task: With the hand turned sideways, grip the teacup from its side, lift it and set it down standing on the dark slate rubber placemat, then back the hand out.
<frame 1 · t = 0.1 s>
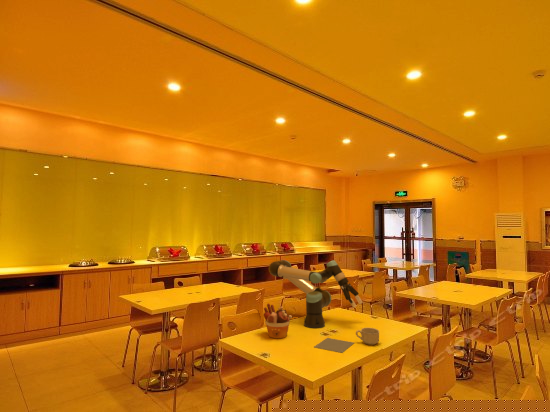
hand: (358, 305, 243), 15 cm above the table, tool tilted 35°, fingers open, 13 cm apart
placemat: (334, 345, 204), on the table
teacup: (367, 343, 207), on the table
bucket of meat: (277, 336, 222), on the table
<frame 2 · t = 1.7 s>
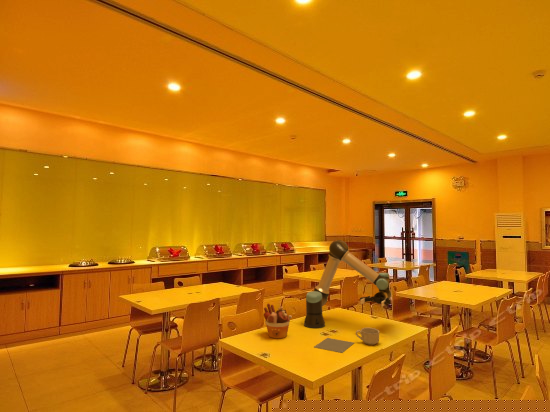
hand: (371, 303, 216), 22 cm above the table, tool horizontal, fingers open, 13 cm apart
nothing on the table moved.
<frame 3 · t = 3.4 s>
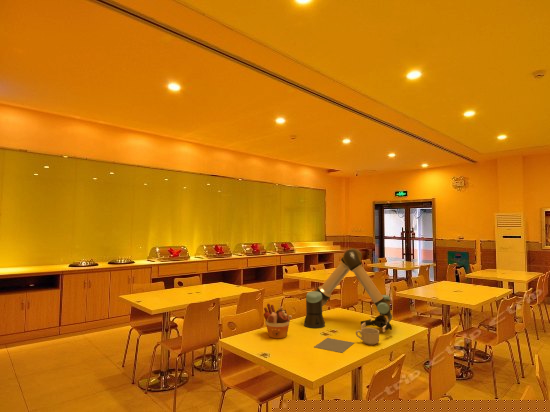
hand: (372, 328, 215), 6 cm above the table, tool horizontal, fingers open, 13 cm apart
nothing on the table moved.
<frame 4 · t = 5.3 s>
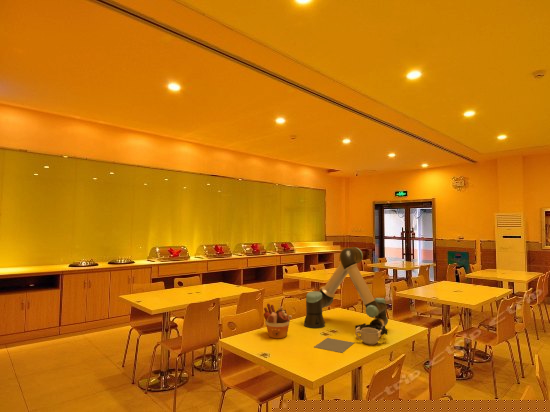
hand: (367, 333, 205), 6 cm above the table, tool horizontal, fingers open, 13 cm apart
teacup: (367, 343, 207), on the table, touching gripper
everything else where it was.
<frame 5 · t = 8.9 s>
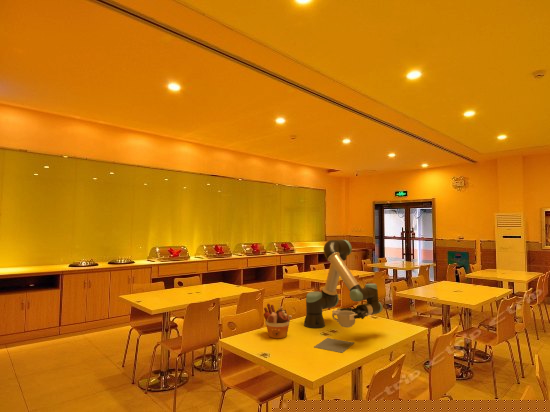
hand: (341, 315, 203), 18 cm above the table, tool horizontal, fingers closed on teacup, 13 cm apart
teacup: (344, 325, 205), point 11 cm above the table, touching gripper
everything else where it was.
when the fingers open (8 cm above the table, at t = 12.0 s): teacup drops 1 cm, resting on placemat.
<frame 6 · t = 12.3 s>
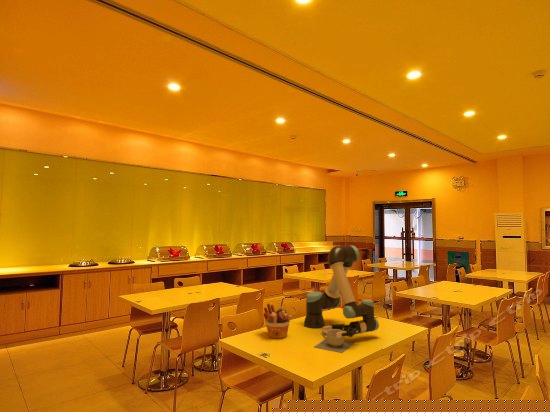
hand: (329, 332, 203), 8 cm above the table, tool horizontal, fingers open, 13 cm apart
teacup: (333, 345, 204), resting on placemat, touching gripper
everything else where it was.
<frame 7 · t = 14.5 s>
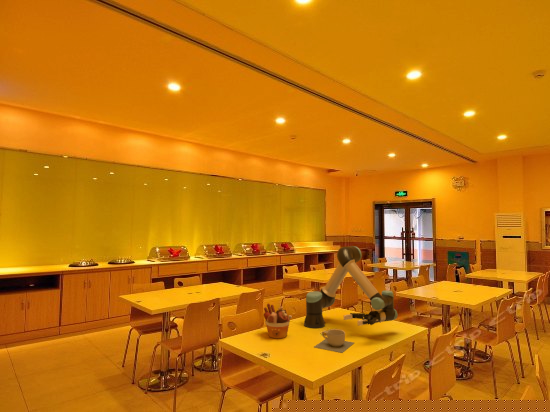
hand: (350, 320, 211), 13 cm above the table, tool horizontal, fingers open, 13 cm apart
teacup: (333, 345, 204), resting on placemat
everything else where it was.
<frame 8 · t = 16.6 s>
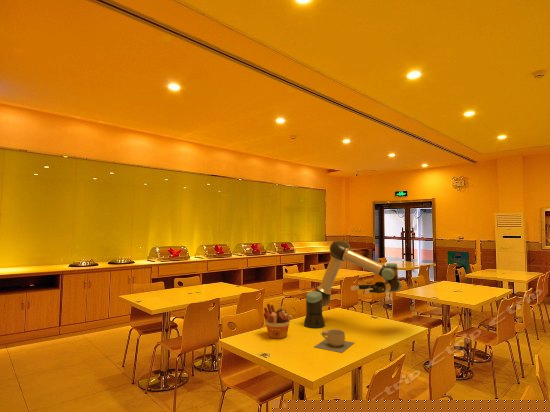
hand: (357, 289, 221), 30 cm above the table, tool horizontal, fingers open, 13 cm apart
nothing on the table moved.
at the end: teacup 0.4 cm from the placemat (horizontally); teacup touching placemat; teacup tilted 0° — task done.
